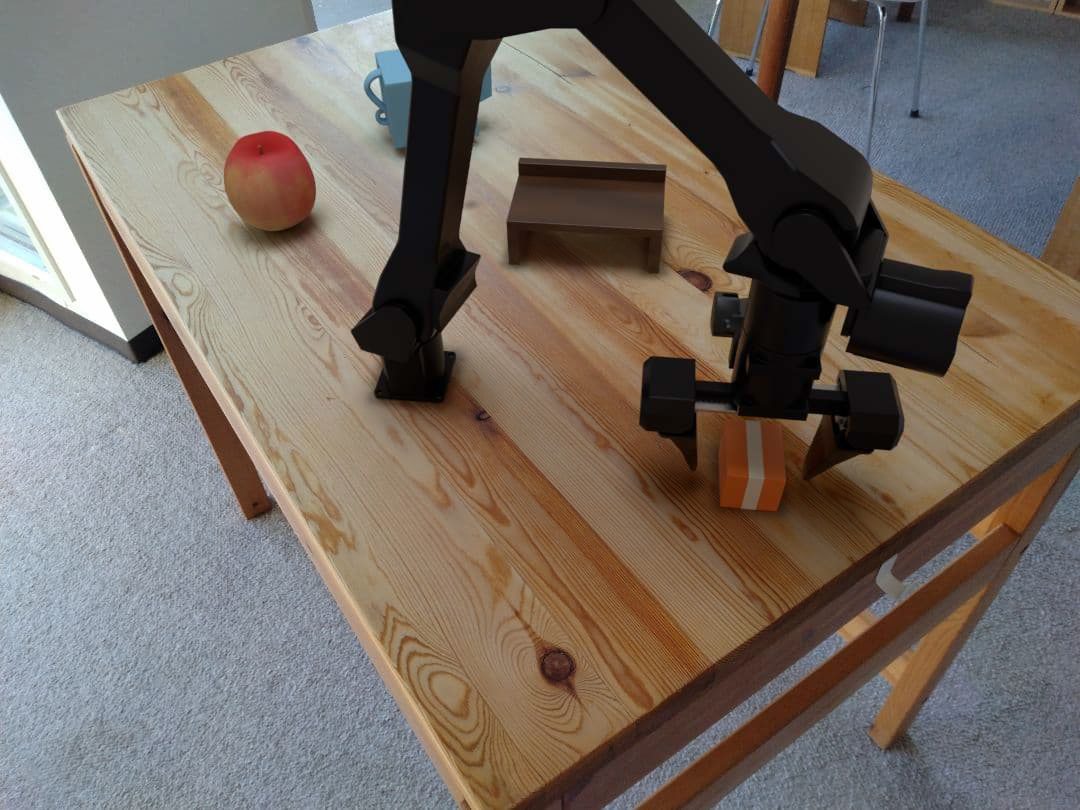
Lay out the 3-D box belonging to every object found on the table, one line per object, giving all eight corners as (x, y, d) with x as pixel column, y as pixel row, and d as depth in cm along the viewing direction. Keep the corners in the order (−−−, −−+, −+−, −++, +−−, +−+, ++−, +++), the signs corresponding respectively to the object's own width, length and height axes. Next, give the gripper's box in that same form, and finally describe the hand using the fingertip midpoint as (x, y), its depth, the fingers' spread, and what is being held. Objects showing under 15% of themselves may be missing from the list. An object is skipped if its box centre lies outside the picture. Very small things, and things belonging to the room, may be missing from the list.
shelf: (658, 273, 89) (664, 217, 84) (508, 264, 91) (505, 208, 86) (661, 219, 96) (666, 164, 91) (521, 211, 98) (519, 157, 93)
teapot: (383, 177, 103) (367, 88, 95) (364, 109, 115) (349, 25, 107) (508, 157, 106) (504, 69, 98) (477, 92, 118) (471, 9, 110)
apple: (239, 207, 99) (213, 128, 92) (321, 194, 101) (302, 116, 94) (239, 254, 93) (212, 173, 86) (327, 240, 94) (307, 160, 87)
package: (776, 512, 68) (786, 480, 65) (719, 507, 68) (727, 475, 65) (772, 454, 72) (781, 422, 69) (718, 450, 72) (725, 418, 69)
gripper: (906, 264, 63) (853, 409, 74) (652, 249, 64) (638, 393, 76) (935, 368, 55) (871, 512, 66) (646, 348, 57) (632, 491, 68)
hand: (748, 471), depth 69 cm, fingers open, 9 cm apart
